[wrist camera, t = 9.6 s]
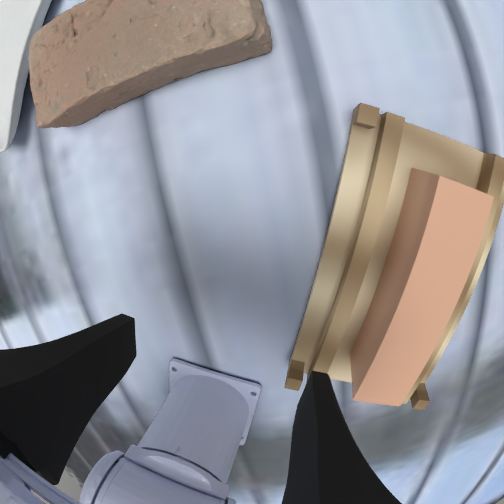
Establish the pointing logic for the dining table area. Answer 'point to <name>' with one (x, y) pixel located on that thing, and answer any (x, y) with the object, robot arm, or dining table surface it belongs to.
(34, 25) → the salad plate
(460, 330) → the dining table surface
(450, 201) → the clay strip
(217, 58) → the brick
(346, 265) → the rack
